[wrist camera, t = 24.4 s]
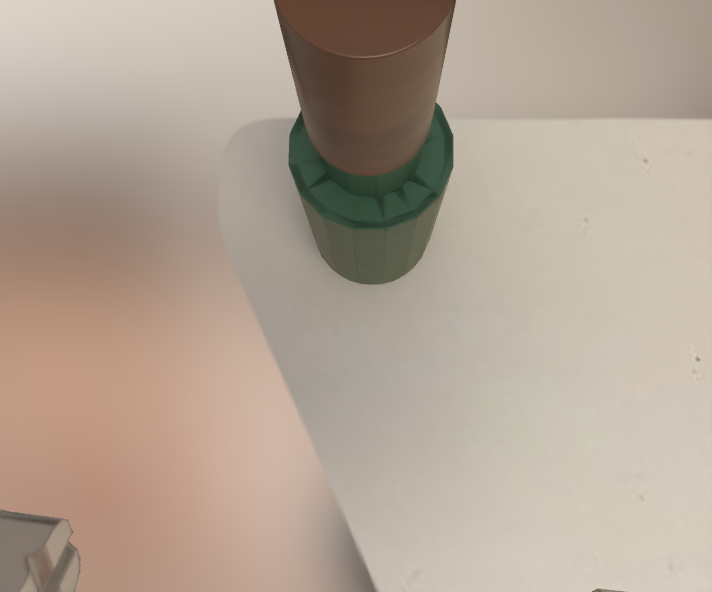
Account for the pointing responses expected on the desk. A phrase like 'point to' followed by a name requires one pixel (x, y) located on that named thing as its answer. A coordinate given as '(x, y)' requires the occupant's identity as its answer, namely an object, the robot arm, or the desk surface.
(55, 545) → the robot arm
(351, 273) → the bottle
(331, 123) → the brown cylinder
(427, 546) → the desk surface
